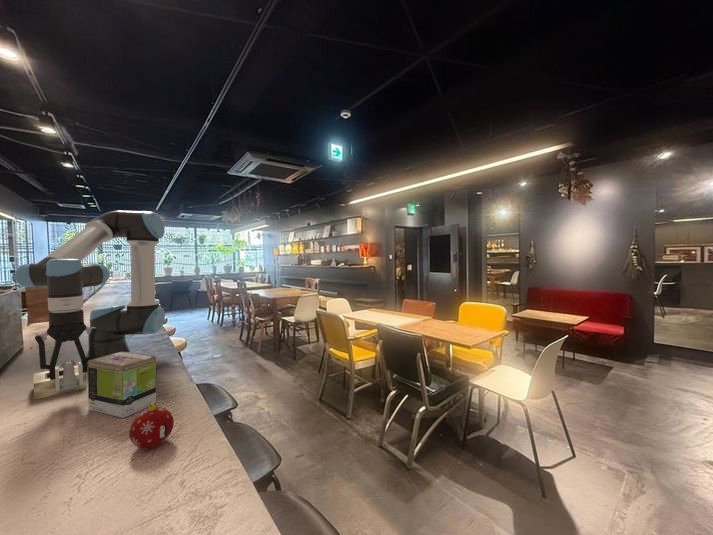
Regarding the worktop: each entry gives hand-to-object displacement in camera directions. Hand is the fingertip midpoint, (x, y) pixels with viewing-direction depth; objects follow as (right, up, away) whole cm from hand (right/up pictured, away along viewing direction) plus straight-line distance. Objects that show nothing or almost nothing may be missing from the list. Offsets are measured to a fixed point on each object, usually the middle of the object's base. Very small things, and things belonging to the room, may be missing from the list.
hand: (69, 386), depth 90 cm
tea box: (+18, -5, -2) cm, 19 cm away
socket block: (-13, -5, +10) cm, 17 cm away
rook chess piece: (0, -1, 0) cm, 1 cm away
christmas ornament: (+39, -6, -20) cm, 44 cm away
